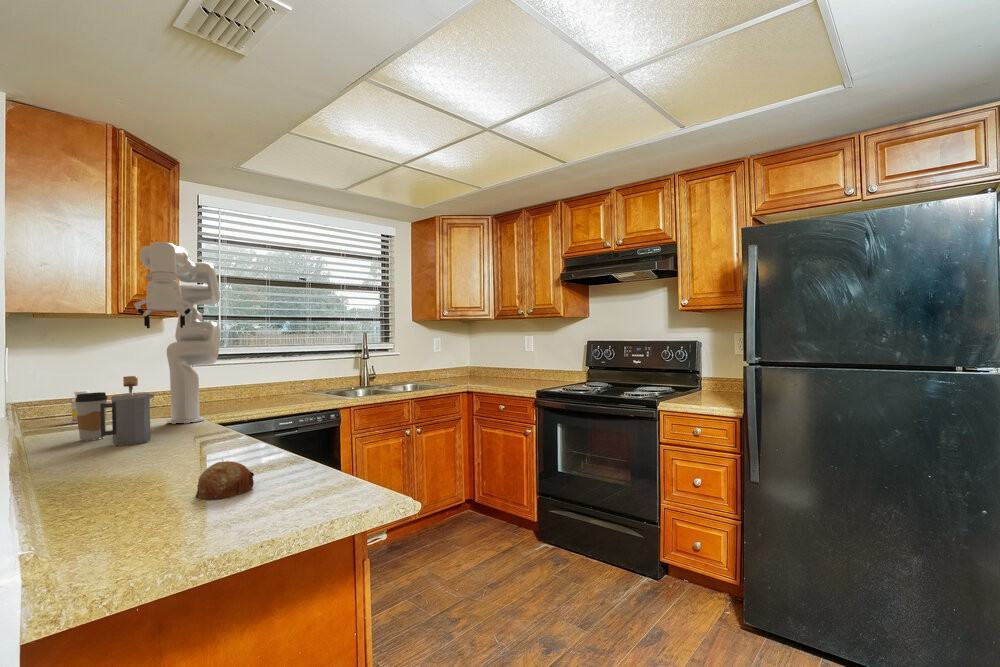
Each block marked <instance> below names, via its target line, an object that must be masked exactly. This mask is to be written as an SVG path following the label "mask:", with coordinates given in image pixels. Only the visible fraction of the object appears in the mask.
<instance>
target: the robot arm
mask: <svg viewBox="0 0 1000 667" xmlns="http://www.w3.org/2000/svg"><path fill="white" fill-rule="evenodd" d="M139 258H140V261H141V263H142V265H143V266H144V267H145V268H146V269H148V270H149V271H150V273H149V274H145V280H147V279H148V280H150V281H148V282H147V286H146V298H144V299H141V300H139V301H136V302H134V303H133V306H134V307H135V310H136V312H138V313H139V314H141V315H142V316H143V318H144V319H143V320H144V321H143V323H144V324H143V325H144V327H146V329H150V328H151V325H150V324H151V323H150V322H151V318H150V314H151V313H152V312H177V315H178V319H177V324H176V328H175V335H174V337H175V341H174V342H172V343H169V345H168V346H167V348H166V357H167V362H168V367H169V378H170V379H169V381H170V384H169V386H170V387H169V388H170V415H171V416H170V417H171V418H169V419H167V420H166V424H167V423H172V424H171V425H177V424H176V423H184V424H191V423H190V422H193V423H198V422H202V421H204V420H205V417H204V416H202V415H201V413H200V412H201V410H200V384H199V383H200V382H199V380H200V378H199V374H198V373H197V371H196V370H195V369H194V368H193V367H192V366H201V365H202V366H204V365H205V366H206V365H213V364H215V363H216V362H217V361H218V358H219V351H220V344H221V334H222V333H221V328H220V325H219V324H218V323H217V322H214V321H210V320H209V321H203V315H202V313H201V312H200V311H199V310H198V309H196V308H195V307H194V306H196V305H199V306H200V305H204V306H205V305H209V306H210V305H216V304H218V303H219V302H220V300H221V292H220V286H219V282H218V276H217V273H216V269H215V267H214V266H213V264H212V263H210V262H205V261H203V262H202V261H201V262H200V261H191V260H190V258H189V254H188V252H187V250H186V249H185V248H184V247H183V246H182V247H181V246H177V245H175V244H174V243H170V242H167V241H166V242H165V241H164V242H163V241H155V242H152V243H150V245H145V246H143V247H142V248H141V250H140V253H139ZM178 281H180V282H182V283H189V284H182V285H180V282H178ZM190 283H193V284H190ZM194 283H195V284H194ZM198 283H199V284H198ZM201 283H202V284H201ZM203 283H204V284H203ZM145 304H146V310H145V311H144V310H143V309H142V308H141V306H143V305H145Z"/></svg>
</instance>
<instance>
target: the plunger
mask: <svg viewBox="0 0 1000 667" xmlns="http://www.w3.org/2000/svg"><path fill="white" fill-rule="evenodd" d="M122 378H123V387H125V388H126V387H127V388H128V393H129V394H133V393H134V389H133V388H134V387H138V385H139V384H138V382H139V381H138V378H139V376H138V375H129V376H126V375H125V376H123V377H122Z"/></svg>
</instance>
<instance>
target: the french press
mask: <svg viewBox="0 0 1000 667" xmlns="http://www.w3.org/2000/svg"><path fill="white" fill-rule="evenodd" d="M153 398H155V393H150V391H148V392H145V391H144V392H143V391H141V392H140V391H138V392H133V394H129V392H128V393H127V392H126V393H118V394H116V393H115V394H112V395H111V402H107V403H100V415H101V437H104V438H105V437H107V436H112V443H113V444H112V445H113V446H114V445H128V446H134V444H136V445H142V444H146V443H145V442H147V443H149V442H150V441H151V435H152V434H151V407H150V406H151V404H150V403H151V401H150V399H153ZM105 408H106V410H105ZM108 408H111V419H112V420H111V424H112V425H111V426H112V429H111V430H107V409H108ZM148 441H149V442H148ZM141 443H142V444H141Z"/></svg>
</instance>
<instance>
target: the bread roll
mask: <svg viewBox="0 0 1000 667" xmlns="http://www.w3.org/2000/svg"><path fill="white" fill-rule="evenodd" d="M254 476H255V474H254V472H253V471H251V470H250V469H249V468H247V466H245V464H242V463H239V462H236V461H229V460H228V461H224V460H223V461H217V462H215V463H213V464H211V465H210V466H208V467H207V468H206V469H205V470H204V471H203V472H202V473H201V475H200V476H199V478H198V483H197V485H196V486H197V489H196V490H197V491H196V493H195V495H194V496H195V497H197V498H200V499H202V500H203V499H204V500H206V501H215V500H216V501H217V500H224V499H229V498H233V497H237V496H240V495H243V494H246V493H248V492H250V491H251V490H252V488H253V486H254Z"/></svg>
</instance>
